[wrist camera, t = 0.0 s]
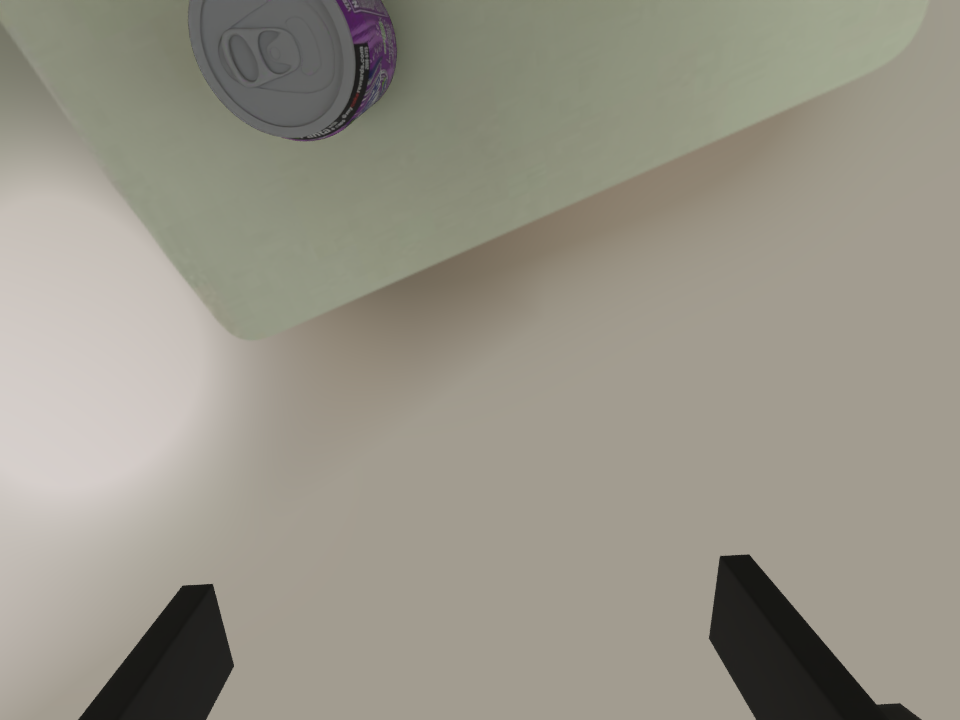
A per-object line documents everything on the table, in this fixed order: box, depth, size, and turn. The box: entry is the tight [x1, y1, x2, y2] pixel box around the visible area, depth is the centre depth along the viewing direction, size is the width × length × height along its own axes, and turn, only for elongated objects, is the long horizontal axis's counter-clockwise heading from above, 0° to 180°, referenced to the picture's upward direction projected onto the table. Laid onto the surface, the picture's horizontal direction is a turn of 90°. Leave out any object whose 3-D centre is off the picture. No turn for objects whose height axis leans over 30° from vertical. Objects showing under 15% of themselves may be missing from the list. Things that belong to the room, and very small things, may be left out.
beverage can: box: [188, 0, 397, 141], centre depth 23 cm, size 7×7×12 cm
